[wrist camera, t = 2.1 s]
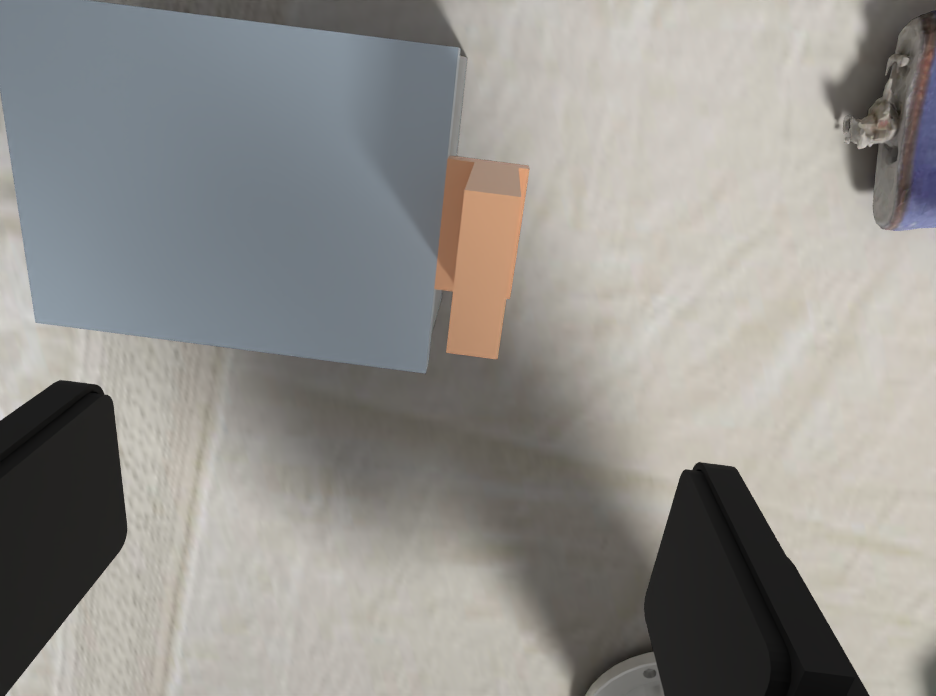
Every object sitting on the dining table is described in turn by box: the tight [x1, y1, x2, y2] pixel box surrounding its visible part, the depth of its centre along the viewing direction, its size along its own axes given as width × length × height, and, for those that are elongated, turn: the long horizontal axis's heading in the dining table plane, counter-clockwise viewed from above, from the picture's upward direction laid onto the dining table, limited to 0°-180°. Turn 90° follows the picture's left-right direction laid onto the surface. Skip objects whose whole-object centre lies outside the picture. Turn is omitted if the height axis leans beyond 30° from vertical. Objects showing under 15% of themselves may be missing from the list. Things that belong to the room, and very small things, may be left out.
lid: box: [0, 0, 529, 374], centre depth 23 cm, size 19×12×8 cm, turn 83°
